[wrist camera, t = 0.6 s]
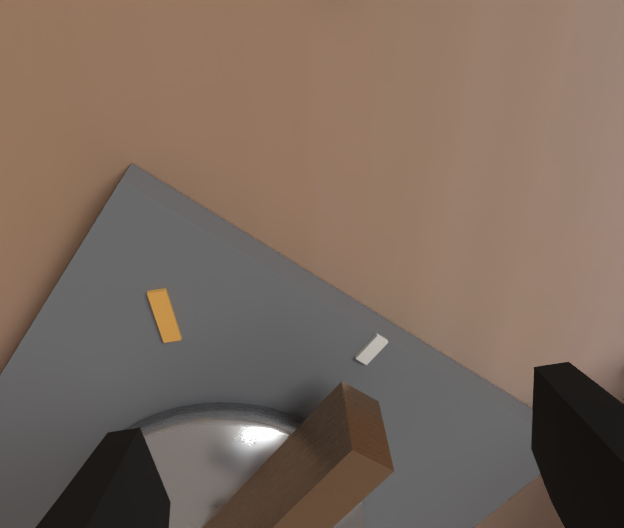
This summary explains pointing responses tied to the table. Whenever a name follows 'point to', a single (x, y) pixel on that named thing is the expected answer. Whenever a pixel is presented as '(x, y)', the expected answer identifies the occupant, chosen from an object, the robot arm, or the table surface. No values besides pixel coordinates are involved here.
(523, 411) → the dial panel
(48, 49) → the table surface
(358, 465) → the dial
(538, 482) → the table surface
